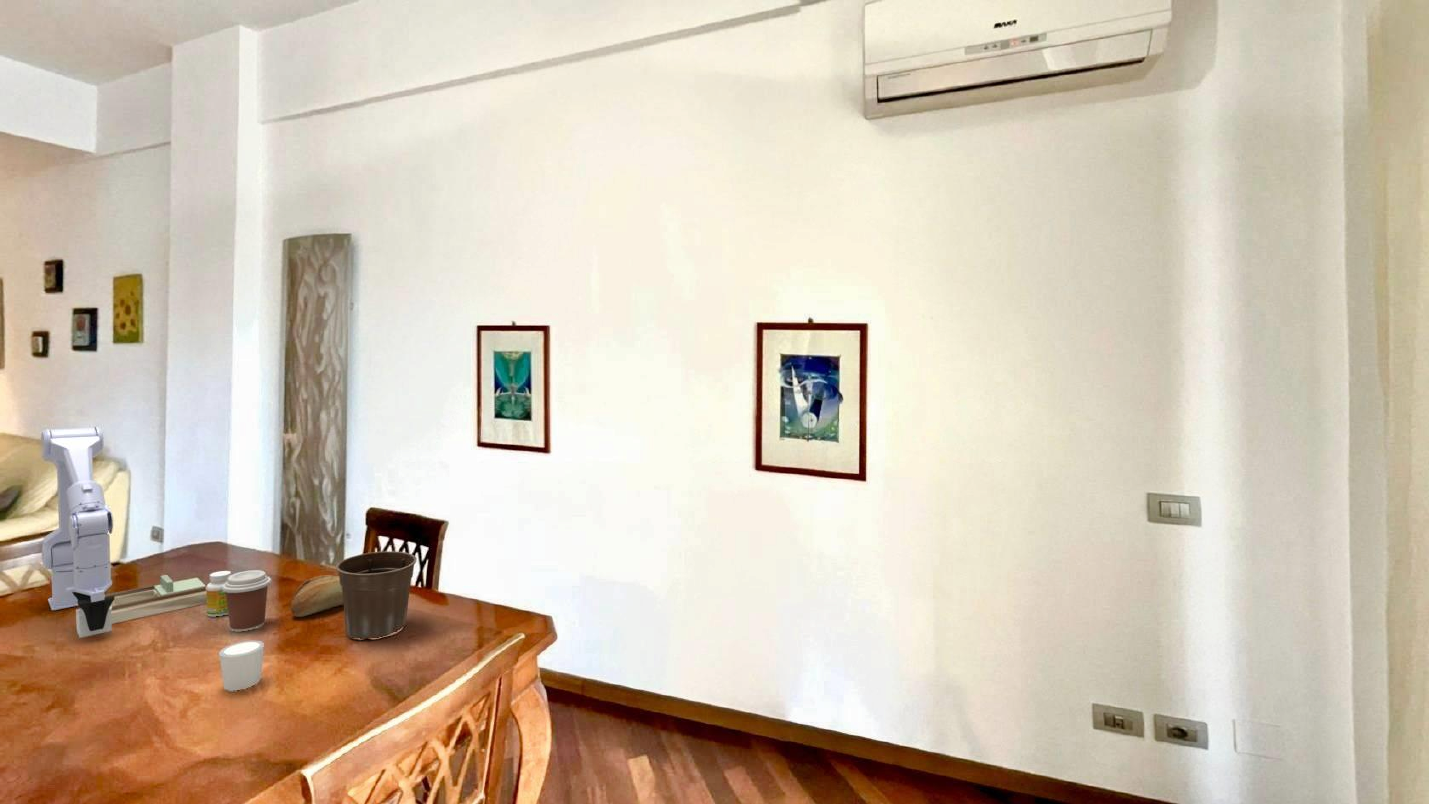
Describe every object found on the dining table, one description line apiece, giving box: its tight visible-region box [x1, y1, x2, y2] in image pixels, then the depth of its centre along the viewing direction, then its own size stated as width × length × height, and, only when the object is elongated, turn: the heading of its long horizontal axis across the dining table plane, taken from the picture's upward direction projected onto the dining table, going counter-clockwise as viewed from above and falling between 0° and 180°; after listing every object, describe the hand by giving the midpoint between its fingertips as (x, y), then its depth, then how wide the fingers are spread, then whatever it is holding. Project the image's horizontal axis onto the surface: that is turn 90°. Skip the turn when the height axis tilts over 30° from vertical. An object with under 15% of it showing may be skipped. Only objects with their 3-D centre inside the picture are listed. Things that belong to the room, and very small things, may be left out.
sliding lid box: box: [104, 577, 207, 625], centre depth 154 cm, size 15×18×3 cm
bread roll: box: [290, 574, 344, 618], centre depth 154 cm, size 10×15×8 cm, turn 157°
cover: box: [154, 574, 207, 596], centre depth 157 cm, size 8×8×3 cm
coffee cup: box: [222, 569, 272, 633], centre depth 143 cm, size 9×9×12 cm
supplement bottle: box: [206, 570, 232, 618], centre depth 150 cm, size 5×5×10 cm
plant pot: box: [335, 550, 417, 640], centre depth 143 cm, size 16×16×16 cm
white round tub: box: [218, 639, 265, 692], centre depth 119 cm, size 7×7×7 cm
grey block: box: [75, 607, 113, 639], centre depth 138 cm, size 5×5×5 cm
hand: (94, 624), depth 138 cm, fingers open, 7 cm apart
